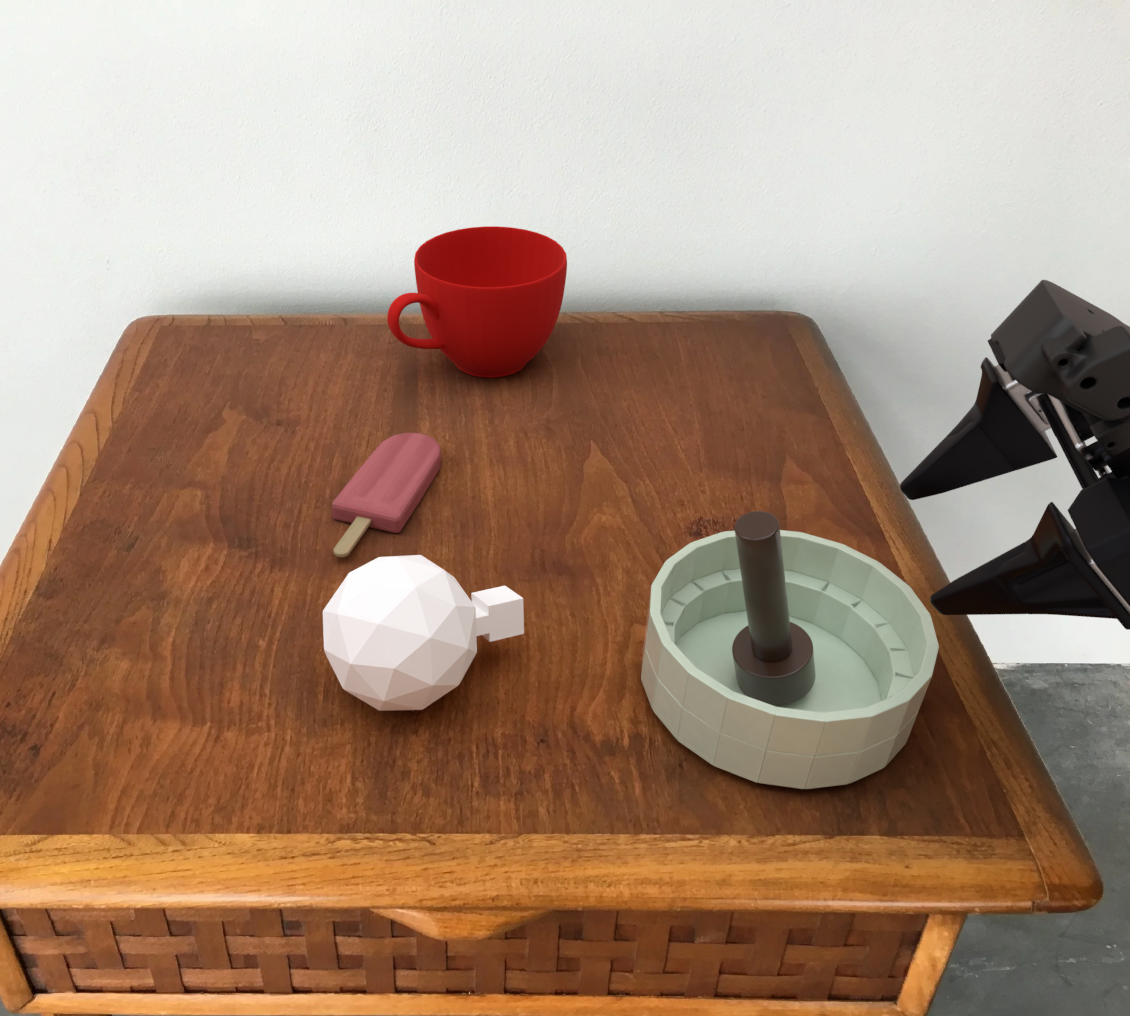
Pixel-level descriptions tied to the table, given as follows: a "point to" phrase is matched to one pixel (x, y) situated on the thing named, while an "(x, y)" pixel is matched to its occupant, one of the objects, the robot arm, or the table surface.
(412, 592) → the perfume bottle
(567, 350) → the table surface
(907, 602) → the bowl
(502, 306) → the ceramic cup
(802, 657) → the pestle
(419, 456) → the popsicle
